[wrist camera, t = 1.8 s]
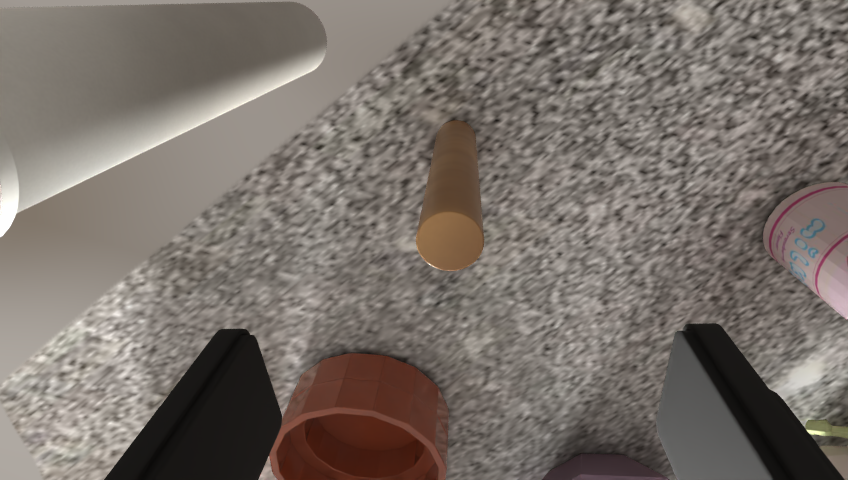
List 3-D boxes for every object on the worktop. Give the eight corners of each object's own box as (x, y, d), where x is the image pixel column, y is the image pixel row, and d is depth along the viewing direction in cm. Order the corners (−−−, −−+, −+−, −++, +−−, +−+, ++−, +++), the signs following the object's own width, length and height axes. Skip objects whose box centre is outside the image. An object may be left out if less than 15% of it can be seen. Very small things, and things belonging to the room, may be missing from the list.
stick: (429, 148, 28) (405, 254, 16) (446, 113, 27) (433, 200, 15) (464, 165, 28) (464, 281, 17) (483, 131, 27) (496, 229, 15)
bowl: (278, 425, 41) (250, 489, 36) (324, 324, 35) (299, 382, 30) (410, 474, 43) (402, 541, 37) (475, 385, 37) (477, 450, 31)
